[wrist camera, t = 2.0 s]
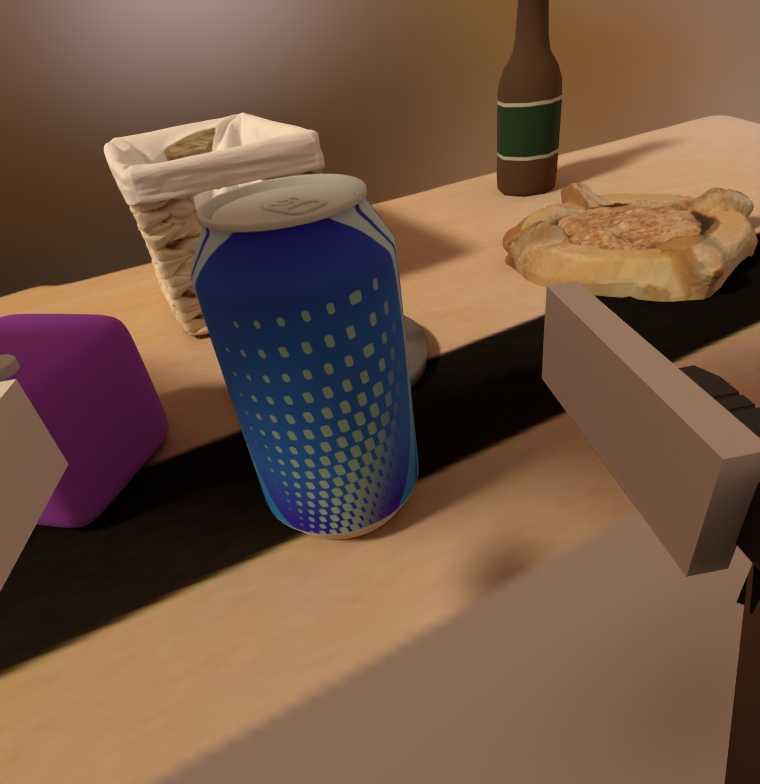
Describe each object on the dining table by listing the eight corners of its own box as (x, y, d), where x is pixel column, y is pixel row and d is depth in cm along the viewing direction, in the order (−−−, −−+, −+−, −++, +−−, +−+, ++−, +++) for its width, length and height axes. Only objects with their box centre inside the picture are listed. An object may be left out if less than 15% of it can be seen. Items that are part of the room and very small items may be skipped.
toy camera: (11, 427, 39) (-71, 303, 33) (189, 415, 37) (135, 283, 32) (-106, 547, 30) (-245, 407, 24) (121, 538, 29) (29, 386, 23)
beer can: (266, 566, 26) (147, 249, 17) (272, 454, 33) (190, 186, 24) (435, 535, 26) (407, 208, 17) (406, 430, 33) (375, 158, 24)
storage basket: (148, 271, 64) (97, 136, 55) (277, 236, 69) (247, 109, 60) (181, 353, 45) (111, 172, 37) (353, 299, 50) (326, 128, 42)
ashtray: (828, 249, 48) (850, 192, 45) (649, 337, 39) (662, 274, 37) (611, 201, 65) (617, 158, 63) (455, 255, 57) (453, 207, 54)
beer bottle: (499, 182, 77) (502, -28, 63) (556, 179, 75) (571, -39, 61) (493, 198, 71) (494, -30, 57) (554, 196, 69) (571, -42, 55)
